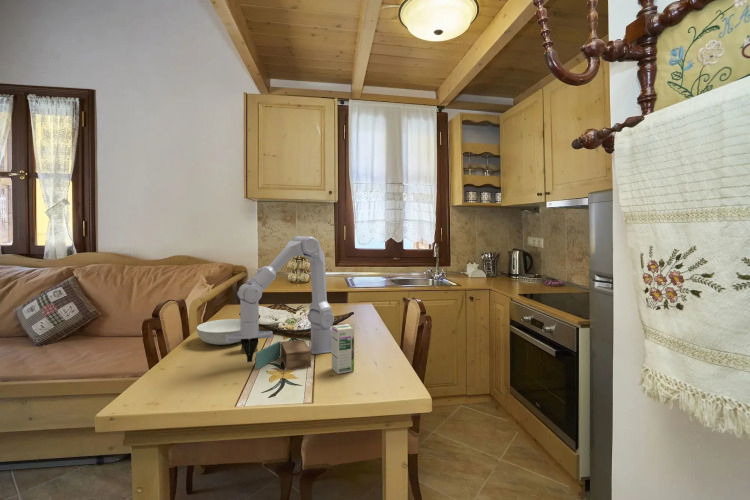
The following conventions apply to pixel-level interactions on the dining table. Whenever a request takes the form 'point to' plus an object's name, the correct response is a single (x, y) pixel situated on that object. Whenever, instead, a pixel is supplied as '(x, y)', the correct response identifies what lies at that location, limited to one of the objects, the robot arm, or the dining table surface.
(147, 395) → the dining table surface
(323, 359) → the dining table surface
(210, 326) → the serving bowl
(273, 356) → the teal door
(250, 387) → the dining table surface
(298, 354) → the walnut cabinet
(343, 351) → the syrup box
